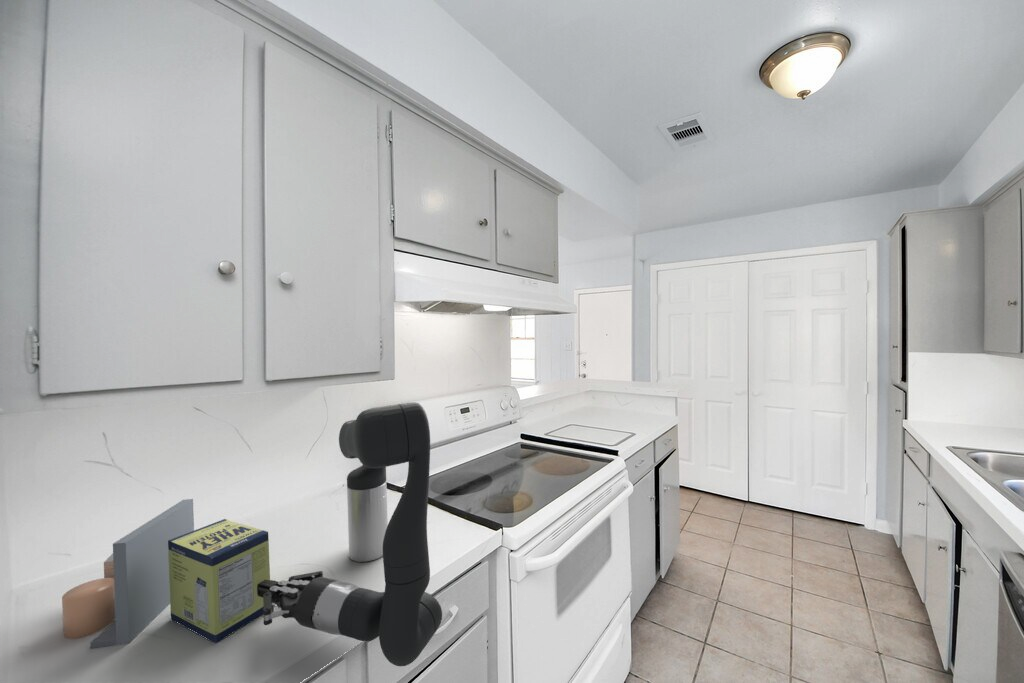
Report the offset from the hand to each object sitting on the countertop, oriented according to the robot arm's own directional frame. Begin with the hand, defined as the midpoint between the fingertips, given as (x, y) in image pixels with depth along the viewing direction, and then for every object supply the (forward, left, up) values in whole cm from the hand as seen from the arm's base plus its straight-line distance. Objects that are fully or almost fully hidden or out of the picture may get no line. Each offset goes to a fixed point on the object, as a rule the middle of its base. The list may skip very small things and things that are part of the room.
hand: (260, 587), depth 78 cm
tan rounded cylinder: (-6, -32, -6) cm, 33 cm away
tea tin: (-15, -32, -6) cm, 36 cm away
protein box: (-4, -9, -7) cm, 12 cm away
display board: (-9, -24, -6) cm, 26 cm away
